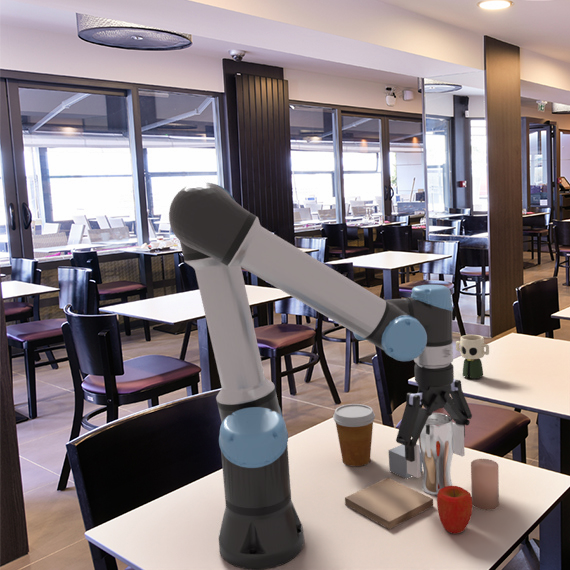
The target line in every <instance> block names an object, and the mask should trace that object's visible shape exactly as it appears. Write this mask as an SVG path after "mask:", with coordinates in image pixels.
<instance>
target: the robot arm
mask: <svg viewBox="0 0 570 570" xmlns="http://www.w3.org/2000/svg"><path fill="white" fill-rule="evenodd" d="M168 220H169V221H168V222H169V225H170V229H171V231H172V233H173V235H174V236H175V237H176V238H177V239H178V241H179V243H180V248H181V251H182V256H183V259H184V263H186V264H187V265H188V266H190V267H192V268H193V269H194V271H195V276H196V281H197V286H198V290H199V293H200V297H201V303H202V307H203V312H204V316H205V319H206V323H207V324H206V325H207V328H208V333H209V337H210V342H211V346H212V350H213V354H214V359H215V363H216V368H217V373H218V376H219V381H220V385H221V389H220V390H219V392H218V394H217V395H216V397H215V399H216V404H217V408H218V412H219V417H220V420H221V425H220V429H219V436H218V444H219V448H220V453H221V464H222V477H223V479H222V480H223V489H224V498H225V499H224V501H225V508H224V513H223V516H222V521H221V526H220V530H219V533H218V547H219V552H220V555H221V557H222V558H223V559H224V561H226V562H227V563H229V564H231V565H233V566H235V567H239V568H242V569H248V570H249V569H250V570H262V569H269V568H274V567H275V568H276V567H278V566H281V565H283V564H285V563H287V562H289V561H292V560H293V559H294V558H295V557H296V556H297V555H299V553H300V552H301V551H302V549H303V547H304V544H305V542H304V541H305V537H304V528H303V524H302V522H301V519H300V516H299V515H298V513H297V510H296V508H295V506H294V503H293V501H292V492H291V478H290V477H291V475H290V462H289V448H288V441H289V433H288V429H287V426H286V422H285V419H284V418H283V413H282V410H281V407H280V405H279V400H278V397H277V396H278V395H277V392H276V386H275V384H274V382H272V380H269V379H268V378H266V377H265V373H264V367H263V363H262V357H261V354H260V349H259V345H258V341H257V334H256V331H255V327H254V326H255V325H254V321H253V317H252V312H251V308H250V303H249V299H248V293H247V288H246V283H245V280H244V275H243V271H242V269H244V270H246V271H247V272H249V273H251V274H252V275H254V276H256V277H258V278H259V279H261V280H263V281H265V282H266V283H268V284H270V285H272V286H273V287H275V288H276V289H279V290H280V291H282V292H283V293H285V294H287V295H289V296H291V297H292V298H294V299H295V300H298V301H299V302H301V303H303V304H304V305H306V306H308V307H310V308H311V309H313V310H314V311H316V312H318V313H320V314H321V315H323V316H325V317H326V318H328V319H330V320H332V321H333V322H335V323H337V324H338V325H341V326H342V327H344V328H346V329H348V330H349V331H351V332H352V333H353V336H354V338H355V339H356V340H358V341H367V342H369V343H371V344H373V345H374V346H375V347H377V348H379V349H381V350H382V351H383V352H384V353H385V354H386V355H387V356H389V357H391V358H393V359H394V360H396V361H400V362H410V361H414V363H415V364H414V381H415V383H416V384H417V387H418V389H417V393H412V392H407V393H406V399H405V408H404V410H403V415H402V418H401V422H400V425H399V428H398V431H397V435H396V439H395V441H396V443H397V444H399V445H405V459H406V460H407V473H408V474H410V475H412V477H414V478H418V479H419V478H421V473H420V450H419V443H418V442H419V441H418V439H419V437H420V434H421V432H422V430H423V428H424V426H425V423H426V421H427V419H428V417H429V416H431V415H432V413H434V412H435V411H437V410H439V409H444V410H445V411H446V413H447V415H448V416H450V417H451V418H452V424H453V433H454V448H453V454H455V455H457V456H460V457H464V456H465V455H466V454H465V438H466V428H465V427H466V426H469V425H470V423H471V422H470V420H471V419H472V417H473V414H472V412H471V409H470V407H469V404H468V402H467V400H466V399H467V398H466V397H465V394H464V392H463V388H462V381H461V380H459V379H455V378H454V377H455V376H454V375H455V374H454V373H455V371H454V364H452V363H453V361H454V351H453V342H454V341H453V311H454V309H453V302H452V301H453V300H452V292H451V290H450V288H449V287H448V286H446V285H443V284H422V285H416V286H413V288H412V289H411V294H410V296H409V297H406V298H392V299H383V298H382V297H380V296H378V295H376V294H375V293H373V292H371V291H370V290H368V289H367V288H364V286H361V285H360V284H358V283H356V282H355V281H353V280H351V279H350V278H348V277H346V276H345V275H343V274H341V273H340V272H339V271H336V270H335V269H333V268H331V267H330V266H328V265H326V263H323V262H321V261H320V260H318V259H317V258H315V257H313V256H311V255H309V254H308V253H306V252H305V251H303V250H301V249H300V248H298V247H297V246H295V245H293V244H292V243H290V242H288V241H287V240H285V239H283V238H281V237H280V236H278V235H277V234H275V233H273V232H272V231H269V230H268V229H267V228H265V227H263V226H262V225H261V223H260V220H259V217H258V216H256V215H255V214H253V213H251V212H250V211H249V210H247V209H245V208H244V207H243V206H242V205H240V204H239V203H238V202H236V200H235V198H234V196H233V195H232V194H231V192H229V191H228V189H226V188H225V187H223V186H222V185H220V184H216V183H210V182H195V183H191V184H188V185H187V186H184V187H183V188H182V189H181V190H180V191H178V192H177V193H176V195H175V196H174V197H173V199H172V201H171V203H170V206H169V212H168Z"/></svg>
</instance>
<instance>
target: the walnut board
mask: <svg viewBox="0 0 570 570" xmlns="http://www.w3.org/2000/svg"><path fill="white" fill-rule="evenodd" d="M344 501H345V502H344V503H345V504H344V505H345V506H347V507H349V508H351V509H352V510H354V511H356V512H358V513H360V514H361V515H362V516H364V517H367V518H369V519H370V520H372V521H374V522H375V523H377V524H379V525H381V526H382V527H384V528H385V529H388V530H391V529H393V528H395V527H397V526H399V525H400V524H403V523H404V522H407V521H408V520H410V519H412V518H414V517H415V516H418V515H420V514H421V513H424V512H425V511H426V510H428V509H430V508H432V507H434V498H432V497H431V496H428V495H426V494H424V493H421V492H419V491H417V490H415V489H413V488H411V487H409V486H406V485H404V484H403V483H401V482H398V481H396V480H394V479H392V478H389V477H386V478H384V479H382V480H380V481H378V482H376V483H374V484H371V485H369V486H367V487H365V488H363V489H361V490H359V491H357V492H354V493H352V494H349V495H348V496H346V497H344Z"/></svg>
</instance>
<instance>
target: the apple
mask: <svg viewBox="0 0 570 570" xmlns="http://www.w3.org/2000/svg"><path fill="white" fill-rule="evenodd" d="M436 499H437V500H436V506H437V513H438V517H439V520H440V523H441V525H442V527H443V528H444V530H445V531H446V532H449V533H451V534H460V533H462V532H464V531H465V530H466V528H467V526H468V524H469V523H470V521H471V518H472V514H473V505H472V494H471V493H470V492H469V491H468V490H467V489H465V488H463V487H460V486H457V485H452V486H446V487H444V488H442V489H440V490H439V491H438V494H437V495H436Z"/></svg>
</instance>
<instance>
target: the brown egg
mask: <svg viewBox="0 0 570 570" xmlns="http://www.w3.org/2000/svg"><path fill="white" fill-rule="evenodd" d="M499 473H500V472H499V463H498V462H497V461H495V460H494V459H493V460H492V459H489V458H477V459H474V460H472V461H471V462H470V480H471V481H470V482H471V484H470V485H471V489H470V490H471V493H470V494H471V497H472V507H475V508H477V510H478V509H479V510H482V511H493V510H496V509H498V508H499V506H500V495H499V493H500V492H499V491H500V489H499V485H500V482H499V481H500V480H499V479H500V478H499V477H500V476H499Z"/></svg>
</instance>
